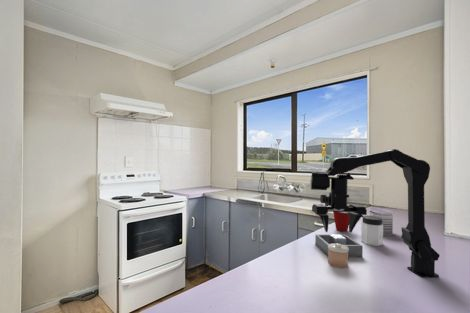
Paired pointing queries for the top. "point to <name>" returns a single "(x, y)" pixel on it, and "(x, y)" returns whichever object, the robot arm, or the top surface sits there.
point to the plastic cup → (341, 221)
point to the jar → (372, 230)
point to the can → (384, 219)
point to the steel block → (337, 239)
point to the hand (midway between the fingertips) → (338, 232)
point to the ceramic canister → (338, 255)
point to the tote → (353, 246)
